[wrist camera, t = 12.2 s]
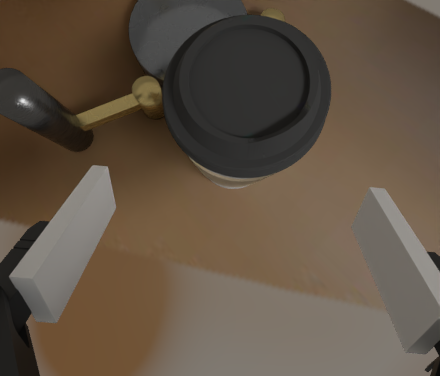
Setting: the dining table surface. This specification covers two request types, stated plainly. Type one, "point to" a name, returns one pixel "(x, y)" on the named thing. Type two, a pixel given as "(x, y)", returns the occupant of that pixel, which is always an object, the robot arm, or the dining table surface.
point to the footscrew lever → (62, 117)
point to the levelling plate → (175, 27)
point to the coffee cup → (246, 98)
